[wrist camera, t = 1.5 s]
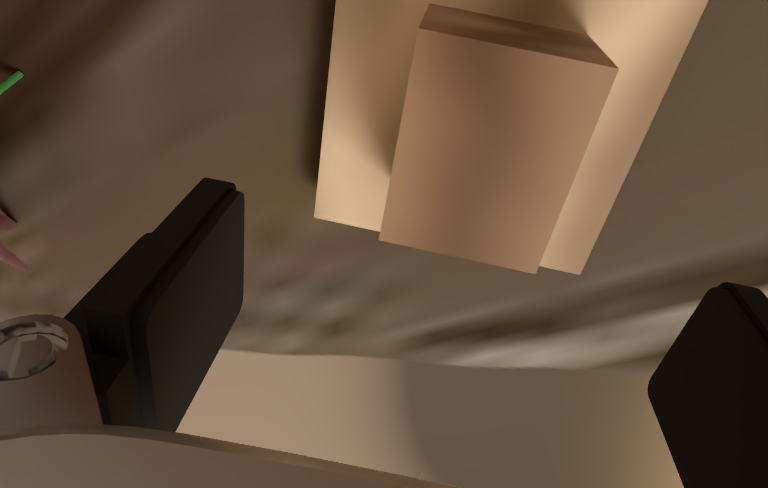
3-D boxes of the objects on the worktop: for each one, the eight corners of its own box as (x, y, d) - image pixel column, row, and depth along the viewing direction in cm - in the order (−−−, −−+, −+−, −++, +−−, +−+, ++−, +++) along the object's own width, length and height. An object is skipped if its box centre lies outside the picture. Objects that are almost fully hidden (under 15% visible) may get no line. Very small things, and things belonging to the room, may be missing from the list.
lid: (711, -30, 17) (796, -9, 12) (576, 264, 24) (601, 346, 19) (351, -101, 17) (308, -105, 13) (318, 208, 24) (283, 276, 19)
